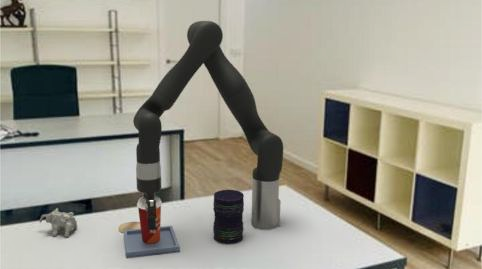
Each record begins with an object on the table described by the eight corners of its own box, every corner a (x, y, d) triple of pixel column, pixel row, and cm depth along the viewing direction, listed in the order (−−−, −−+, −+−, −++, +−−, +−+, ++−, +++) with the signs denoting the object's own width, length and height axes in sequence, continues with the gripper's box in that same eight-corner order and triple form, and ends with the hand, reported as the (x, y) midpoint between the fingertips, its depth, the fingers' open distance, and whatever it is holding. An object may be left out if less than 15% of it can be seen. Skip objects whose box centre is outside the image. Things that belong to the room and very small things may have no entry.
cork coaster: (144, 221, 168) (144, 220, 168) (146, 232, 160) (146, 231, 160) (117, 224, 166) (117, 223, 166) (118, 235, 158) (118, 233, 157)
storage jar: (249, 239, 156) (250, 196, 153) (224, 247, 151) (225, 202, 147) (231, 228, 164) (231, 187, 161) (207, 236, 158) (207, 193, 155)
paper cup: (158, 247, 149) (156, 207, 144) (135, 244, 150) (132, 204, 146) (166, 234, 156) (165, 195, 152) (144, 231, 158) (142, 193, 153)
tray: (172, 230, 162) (172, 225, 162) (179, 251, 147) (179, 246, 147) (123, 235, 158) (123, 230, 157) (126, 258, 143) (126, 252, 142)
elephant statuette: (75, 238, 156) (75, 216, 154) (35, 239, 153) (35, 217, 151) (77, 227, 164) (77, 206, 163) (40, 228, 161) (40, 206, 160)
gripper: (164, 181, 141) (165, 232, 145) (158, 167, 155) (159, 214, 158) (138, 183, 139) (140, 234, 143) (134, 169, 153) (136, 216, 156)
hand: (150, 223), depth 151 cm, fingers open, 8 cm apart
